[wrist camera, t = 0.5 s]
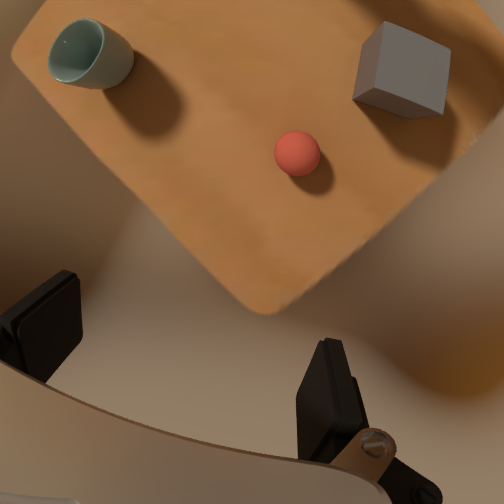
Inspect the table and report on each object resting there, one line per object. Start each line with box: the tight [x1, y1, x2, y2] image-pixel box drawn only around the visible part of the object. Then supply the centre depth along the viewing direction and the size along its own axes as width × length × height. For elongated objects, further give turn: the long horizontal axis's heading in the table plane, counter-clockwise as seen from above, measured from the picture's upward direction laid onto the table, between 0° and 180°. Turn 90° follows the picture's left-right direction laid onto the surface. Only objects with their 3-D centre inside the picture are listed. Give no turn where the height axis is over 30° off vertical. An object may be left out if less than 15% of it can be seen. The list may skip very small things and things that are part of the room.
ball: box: [274, 131, 320, 176], centre depth 33 cm, size 5×5×5 cm
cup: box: [48, 18, 134, 89], centre depth 28 cm, size 8×8×10 cm
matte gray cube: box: [352, 21, 451, 119], centre depth 27 cm, size 8×8×9 cm
